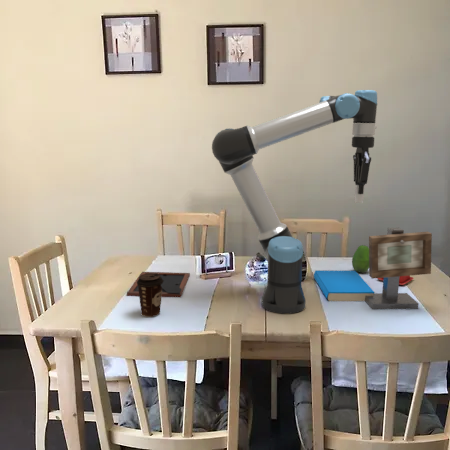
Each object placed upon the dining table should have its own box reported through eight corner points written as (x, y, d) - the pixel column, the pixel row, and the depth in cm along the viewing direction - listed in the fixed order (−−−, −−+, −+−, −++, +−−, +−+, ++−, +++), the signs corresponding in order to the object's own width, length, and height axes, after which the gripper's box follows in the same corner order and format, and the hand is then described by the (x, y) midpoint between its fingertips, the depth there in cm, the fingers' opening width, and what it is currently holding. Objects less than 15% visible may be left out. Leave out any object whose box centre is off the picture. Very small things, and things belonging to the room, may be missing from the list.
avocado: (372, 275, 199) (374, 247, 197) (353, 274, 199) (355, 247, 197) (367, 269, 207) (369, 242, 205) (349, 269, 207) (350, 242, 205)
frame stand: (372, 309, 163) (378, 232, 157) (362, 298, 173) (368, 226, 167) (418, 308, 164) (425, 232, 158) (406, 298, 173) (413, 226, 167)
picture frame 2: (372, 279, 159) (372, 238, 156) (369, 275, 163) (368, 236, 160) (431, 274, 160) (432, 234, 157) (426, 271, 163) (427, 231, 160)
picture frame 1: (181, 299, 173) (189, 276, 197) (180, 293, 172) (189, 272, 197) (126, 297, 174) (142, 275, 198) (126, 292, 174) (142, 271, 198)
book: (354, 270, 194) (375, 291, 170) (354, 280, 195) (374, 302, 170) (313, 270, 194) (327, 291, 169) (312, 280, 195) (327, 302, 170)
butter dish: (375, 281, 193) (376, 261, 191) (388, 274, 201) (389, 255, 199) (402, 288, 185) (404, 267, 183) (415, 281, 193) (417, 261, 191)
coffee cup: (165, 308, 162) (164, 272, 160) (163, 318, 154) (162, 280, 152) (139, 308, 162) (138, 272, 159) (136, 318, 154) (134, 280, 151)
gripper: (380, 136, 160) (375, 205, 165) (367, 135, 172) (363, 199, 178) (358, 136, 159) (353, 205, 165) (347, 135, 172) (343, 199, 177)
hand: (358, 202), depth 171 cm, fingers closed
